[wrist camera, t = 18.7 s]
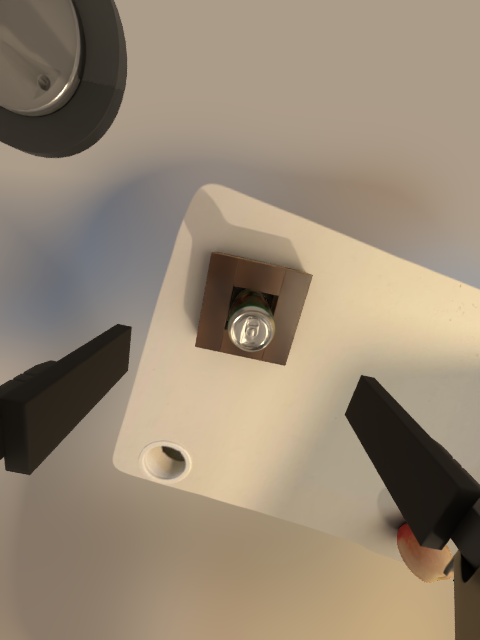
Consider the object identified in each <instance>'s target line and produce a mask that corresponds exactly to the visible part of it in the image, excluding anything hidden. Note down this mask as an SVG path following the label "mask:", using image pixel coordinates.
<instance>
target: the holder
mask: <svg viewBox="0 0 480 640" xmlns="http://www.w3.org/2000/svg"><path fill="white" fill-rule="evenodd" d="M312 276H313V275H311V274H309V273H306V272H303V271H299V270H294V269H290V268H285V267H281V266H276V265H272V264H268V263H263V262H259V261H254V260H250V259H246V258H241V257H237V256H232V255H228V254H223V253H219V252H212V253H211V259H210V265H209V270H208V276H207V282H206V287H205V293H204V299H203V304H202V310H201V316H200V321H199V327H198V333H197V338H196V344H195V347H199V348H204V349H209V350H213V351H218V352H223V353H228V354H232V355H237V356H242V357H246V358H251V359H256V360H261V361H265V362H270V363H275V364H279V365H284V366H285V365H286V362H287V358H288V355H289V352H290V348H291V345H292V342H293V339H294V335H295V332H296V329H297V325H298V322H299V319H300V316H301V312H302V309H303V306H304V302H305V299H306V296H307V292H308V289H309V286H310V283H311V279H312ZM234 286H236V287H241V288H245V289H250V290H254V291H259V292H263V293H268V294H272V295H274V298H273V302H272V306H271V309H270V310H271V313H272V316H273V319H274V321H275V328H276V329H275V335H274V337H273V339H272V341H271V342H270V343H269V344H268V345H267V346H266V347H265V348H263V349H261V350H259V351H254V352H249V351H245V350H242V349H240V348H239V347H237V346H236V345H235V344H234V343H233V342H232V341H231V339H230V337H229V335H228V330H227V327H228V321H227V317H228V312H229V308H230V303H231V298H232V293H233V289H234Z"/></svg>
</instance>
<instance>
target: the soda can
mask: <svg viewBox="0 0 480 640" xmlns="http://www.w3.org/2000/svg"><path fill="white" fill-rule="evenodd" d="M275 329H276V328H275V321H274V319H273V316H272V313H271V310H270V308H269V305H268V302H267V299H266V297H265V296H264V295H263V294H262V293H261V292H259V291H254V290H250V289H246V290H243V291H241V292H240V293H239V294H238V295H237V296H236V297H235V299H234V302H233V306H232V310H231V314H230V317H229V321H228V327H227V330H228V335H229V337H230V339H231V341H232V342H233V343H234V344H235V345H236V346H237V347H239V348H240V349H242V350H245V351H249V352H254V351H259V350H261V349H263V348H265V347H266V346H267V345H268V344H269V343H270V342H271V341H272V339H273V337H274V335H275Z"/></svg>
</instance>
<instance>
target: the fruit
mask: <svg viewBox="0 0 480 640" xmlns="http://www.w3.org/2000/svg"><path fill="white" fill-rule="evenodd" d="M397 545H398V549H399V552H400V554H401V557H402V559H403V561H404V562H405V564H406V565H407V567H408V568H409V569H410V570H411V571H412V573H413V574H415V575H416V576H417V577H418V578H419V579H421V580H422V581H424V582H426V583H431V582H434V581H438V580H445V579H450V578H451V577H452V576H453V574H454V572H450V573H449V574H448V575H447V576H446V575H445V574H444V573H443V571H444V569H445V567H446V566H447V564H448V563H449V562H450V560H451V559H452V555H451V553H450V550H449V548H448V547H447V545H445V546H444V548H443V549H442V550H437V549H432V548H426V547H421V546H420V545H419V543H418V541H417V540H416V538H415V536H414V534H413V533H412V531H411V529H410V527H409V526H408V524H407V523H406V524H404V525H402V526H401V527H400V528H399V530H398V533H397Z"/></svg>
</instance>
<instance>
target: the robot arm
mask: <svg viewBox="0 0 480 640" xmlns="http://www.w3.org/2000/svg"><path fill="white" fill-rule="evenodd" d="M85 62H86V41H85V34H84V28H83V24H82V20H81V17H80V14H79V11H78V8H77V6H76V3H75V1H74V0H0V106H2V107H4V108H6V109H8V110H9V111H11V112H14V113H16V114H19V115H23V116H28V117H43V116H47V115H51V114H53V113H55V112H57V111H59V110H60V109H62V108H63V107H64V106H66V105H67V104H68V103H69V102H70V101H71V99H72V98H73V97H74V95H75V93H76V92H77V90H78V88H79V86H80V83H81V81H82V78H83V74H84V69H85ZM130 340H131V327H130V326H125V325H120V324H117V325H115V326H114V327H112V328H110V329H109V330H107V331H105V332H104V333H102V334H101V335H99V336H97V337H96V338H94V339H93V340H91V341H89V342H88V343H86V344H85V345H83V346H81V347H80V348H78V349H77V350H75V351H73V352H72V353H70V354H68V355H67V356H65V357H64V358H62V359H60V360H59V361H57V362H56V361H48V362H45V363H41V364H38V365H36V366H34V367H32V368H31V369H29V370H27V371H25V372H24V373H23V374H20V375H18V376H16V377H15V378H14V379H13V380H9V381H8V382H6V383H4V384H2V385H1V386H0V460H1V459H2V458H3V457H4V459H5V469H6V471H11V472H16V473H22V474H27V475H30V474H31V473H32V472H33V471H34V470H35V469H36V468H37V467H38V466H39V465H40V464H41V463H42V462H43V461H44V459H46V457H47V456H48V455H49V454H50V453H51V452H52V451H53V450H54V449H55V448H56V447H57V446H58V445H59V443H60V442H61V441H62V440H63V439H64V438H65V437H66V436H67V435H68V434H69V433H70V432H71V431H72V430H73V429H74V427H75V426H76V425H77V424H78V423H79V422H80V421H81V420H82V419H83V418H84V417H85V416H86V415H87V414H88V413H89V412H90V410H91V409H92V408H93V407H94V406H95V405H96V404H97V403H98V402H99V401H100V400H101V399H102V398H103V397H104V396H105V395H106V393H107V392H108V391H109V390H110V389H111V388H112V387H113V386H114V385H115V384H116V383H117V382H118V381H119V380H120V379H121V377H122V376H123V375H124V374H125V373H126V372H127V371H128V364H129V351H130ZM345 416H346V418H347V419H348V421H349V423H350V425H351V426H352V428H353V430H354V432H355V433H356V435H357V437H358V439H359V440H360V442H361V444H362V446H363V447H364V449H365V451H366V453H367V454H368V456H369V458H370V459H371V461H372V463H373V465H374V466H375V468H376V470H377V472H378V473H379V475H380V477H381V479H382V480H383V482H384V484H385V486H386V487H387V489H388V491H389V493H390V494H391V496H392V498H393V500H394V501H395V503H396V505H397V506H398V508H399V510H400V512H401V513H402V515H403V517H404V519H405V520H406V522H407V524H408V526H409V527H410V529H411V531H412V533H413V534H414V536H415V538H416V540H417V541H418V543H419V545H420V546H421V547H426V548H432V549H437V550H442V549H443V548H444V546H445V545H446V544H447V542H448V541H449V539H450V538H451V539H452V540H453V542H454V543H455V545H456V546H457V548H458V549H459V550H458V551H457V552H456V554H455V555H454V556H453V558H452V559H451V560H450V562H449V563H448V564H447V566H446V567H445V569H444V571H443V573H444V574H445V575H446V576H447V575H448V574H449V573H450V572H454V580H453V581H454V599H455V640H480V485H479V484H478V482H477V481H476V480H475V479H474V478H473V477H472V476H471V475H470V474H469V473H468V472H467V471H466V470H465V469H464V468H462V467H461V465H460V464H459V463H458V462H457V461H456V460H455V459H453V457H452V456H451V455H450V454H449V453H448V451H447V450H446V449H445V448H444V447H443V446H442V445H440V444H439V443H438V442H436V441H435V440H434V439H432V438H431V437H430V436H429V435H428V434H427V433H426V432H425V431H424V430H423V429H422V428H421V427H420V425H419V424H418V423H417V422H416V421H415V420H414V419H413V418H412V417H411V416H410V415H409V414H408V413H407V412H406V411H405V410H404V409H403V408H402V407H401V405H400V404H399V403H398V402H397V401H396V400H395V399H394V398H393V397H392V396H391V395H390V394H389V393H388V392H387V391H386V390H385V389H384V388H383V387H382V386H381V384H380V383H379V382H378V381H377V380H376V379H375V378H372V377H368V376H363V375H361V377H360V379H359V382H358V384H357V387H356V389H355V391H354V394H353V396H352V398H351V401H350V403H349V406H348V408H347V410H346V413H345Z"/></svg>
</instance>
